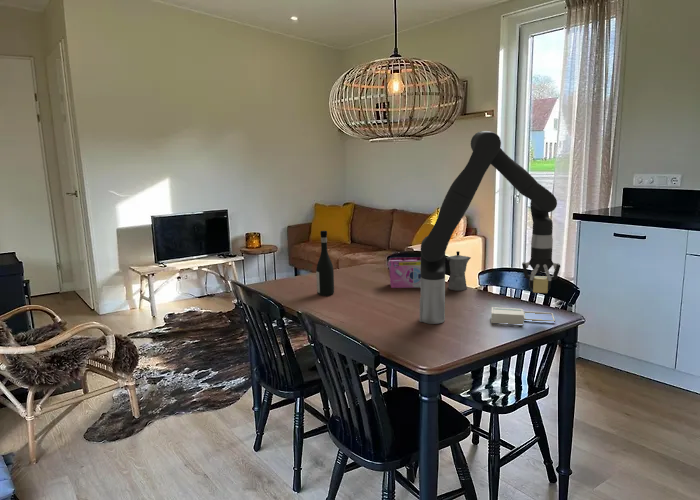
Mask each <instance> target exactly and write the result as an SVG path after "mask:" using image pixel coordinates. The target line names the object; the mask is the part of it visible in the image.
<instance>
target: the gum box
mask: <svg viewBox="0 0 700 500" xmlns="http://www.w3.org/2000/svg"><path fill="white" fill-rule="evenodd" d="M387 266H388V269H389V273H388V274H389V284H390V289H391V288H392V289H396V288H398V289H402V288H406V289H407V288H408V289H409V288H411V289H412V288H418V289H419V288H421V256H417V257H415V256H414V257H390V258H389V260H388V261H387Z"/></svg>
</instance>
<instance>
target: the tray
mask: <svg viewBox="0 0 700 500" xmlns="http://www.w3.org/2000/svg"><path fill="white" fill-rule="evenodd" d="M525 313H535V314H551V315H552V318H553V320H542V319H526V318H525ZM523 314H524V320H532V321H554V322H555V323H556V319H555V317H554V313H553V312H544V311H531V310H529V311H527V310H523ZM524 320H523V321H524Z"/></svg>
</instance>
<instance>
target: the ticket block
mask: <svg viewBox="0 0 700 500" xmlns="http://www.w3.org/2000/svg"><path fill="white" fill-rule="evenodd" d="M523 311H524V309H523V308H514V307H513V308H511V307H495V306H491V318H490V319H491V320H490V322H491V326H494V325H497V326H498V324H492V323H508V324H523V325H524V314H523Z"/></svg>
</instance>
